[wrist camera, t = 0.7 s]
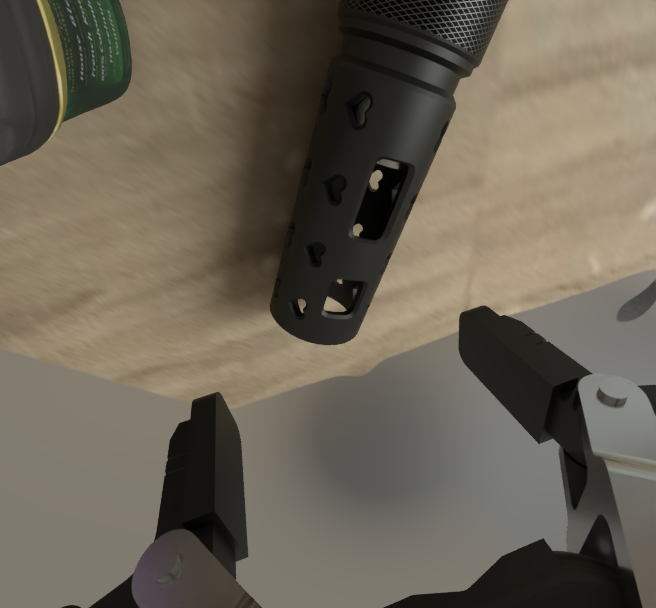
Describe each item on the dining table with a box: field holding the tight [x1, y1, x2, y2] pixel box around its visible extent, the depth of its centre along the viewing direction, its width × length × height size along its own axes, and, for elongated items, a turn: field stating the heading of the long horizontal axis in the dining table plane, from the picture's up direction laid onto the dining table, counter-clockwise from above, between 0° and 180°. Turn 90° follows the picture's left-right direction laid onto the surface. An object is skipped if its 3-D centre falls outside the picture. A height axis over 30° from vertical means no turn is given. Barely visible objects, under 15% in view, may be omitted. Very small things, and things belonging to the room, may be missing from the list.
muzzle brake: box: [270, 0, 508, 345], centre depth 27 cm, size 10×28×10 cm, turn 162°
